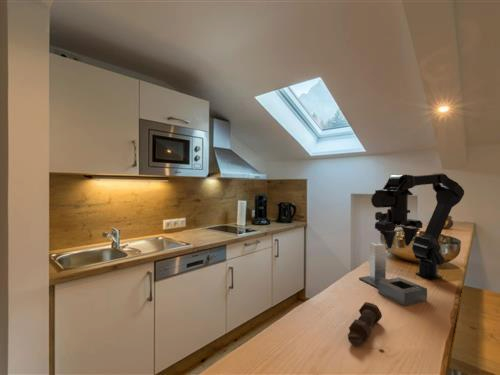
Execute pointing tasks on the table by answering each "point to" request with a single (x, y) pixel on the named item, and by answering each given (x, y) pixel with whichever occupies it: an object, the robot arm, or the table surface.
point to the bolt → (364, 323)
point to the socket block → (402, 291)
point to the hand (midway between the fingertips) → (398, 246)
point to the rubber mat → (369, 281)
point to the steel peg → (377, 262)
